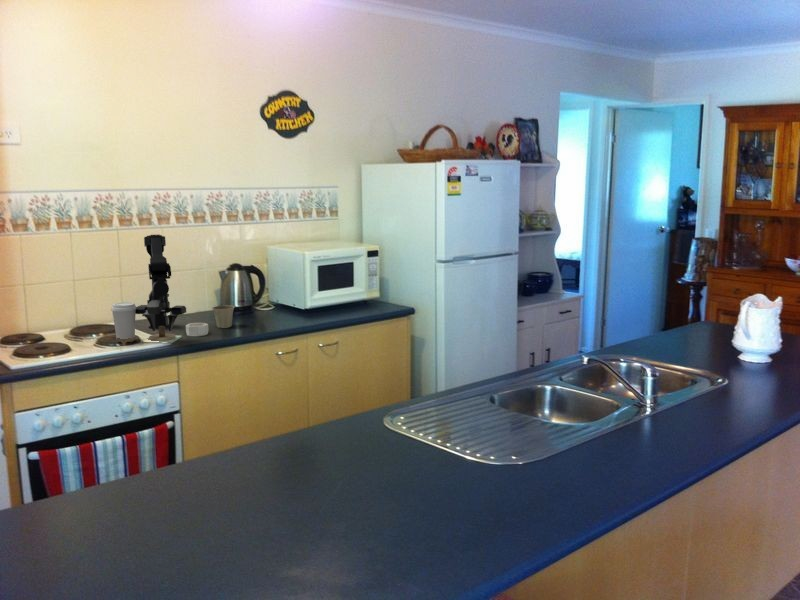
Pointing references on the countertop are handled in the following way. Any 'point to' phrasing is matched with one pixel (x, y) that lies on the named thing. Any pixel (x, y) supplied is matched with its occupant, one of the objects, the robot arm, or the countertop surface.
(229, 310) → the flower pot
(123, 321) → the coffee cup
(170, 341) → the mat
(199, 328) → the bowl
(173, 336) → the lid
